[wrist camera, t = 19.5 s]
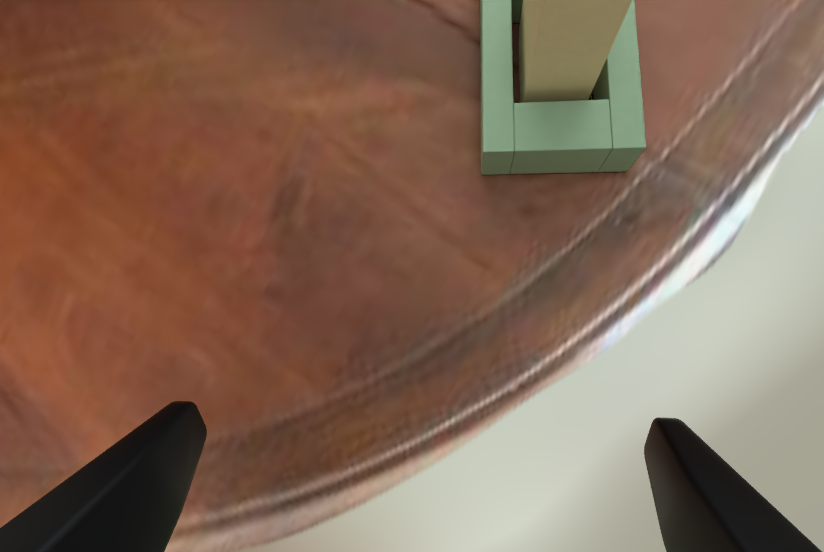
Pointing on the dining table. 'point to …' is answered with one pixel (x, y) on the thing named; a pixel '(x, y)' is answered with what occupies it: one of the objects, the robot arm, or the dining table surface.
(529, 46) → the beige rectangular block
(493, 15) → the base
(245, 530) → the dining table surface
